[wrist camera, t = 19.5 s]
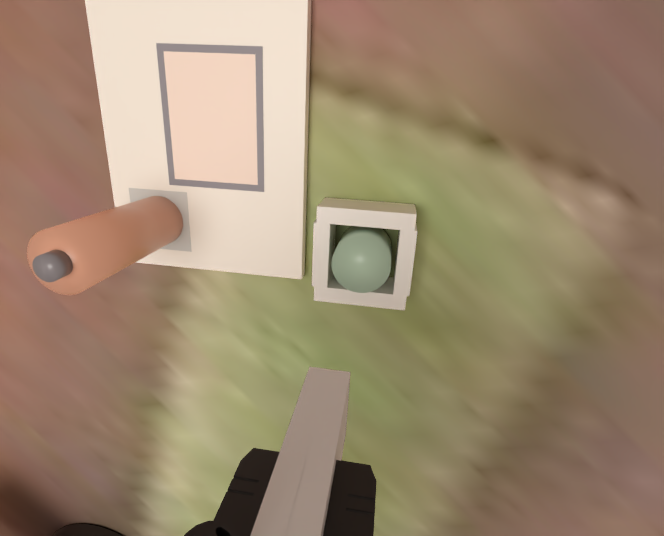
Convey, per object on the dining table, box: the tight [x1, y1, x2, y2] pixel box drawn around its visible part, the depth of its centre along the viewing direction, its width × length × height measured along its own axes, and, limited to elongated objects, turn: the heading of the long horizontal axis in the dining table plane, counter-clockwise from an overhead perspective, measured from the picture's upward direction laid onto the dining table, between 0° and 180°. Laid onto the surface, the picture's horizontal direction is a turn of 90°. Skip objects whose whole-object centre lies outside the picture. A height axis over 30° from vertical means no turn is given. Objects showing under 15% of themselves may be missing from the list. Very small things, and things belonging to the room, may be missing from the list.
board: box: [85, 0, 311, 279], centre depth 31 cm, size 16×20×1 cm
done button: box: [331, 226, 392, 293], centre depth 30 cm, size 4×4×4 cm
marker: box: [27, 196, 183, 295], centre depth 28 cm, size 4×4×12 cm
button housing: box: [312, 197, 418, 310], centre depth 31 cm, size 7×7×4 cm
